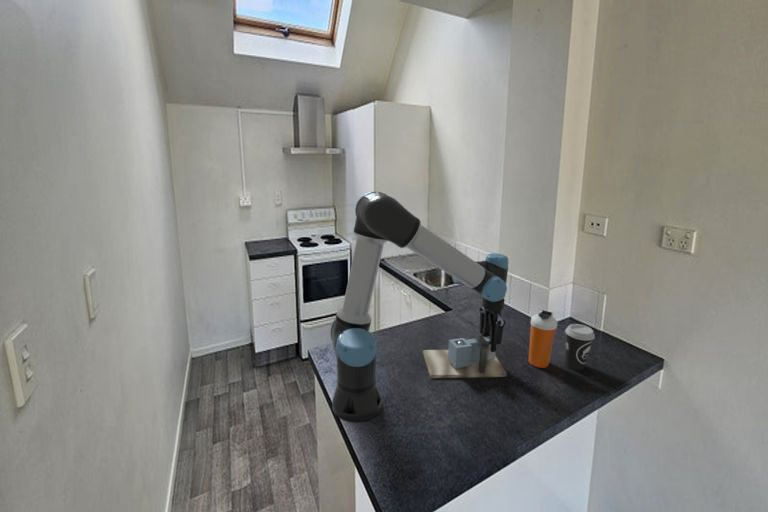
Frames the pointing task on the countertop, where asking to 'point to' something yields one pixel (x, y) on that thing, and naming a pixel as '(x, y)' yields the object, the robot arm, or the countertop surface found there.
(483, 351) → the post
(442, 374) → the board
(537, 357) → the shaker bottle
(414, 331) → the countertop surface
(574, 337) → the coffee cup
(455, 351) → the link
